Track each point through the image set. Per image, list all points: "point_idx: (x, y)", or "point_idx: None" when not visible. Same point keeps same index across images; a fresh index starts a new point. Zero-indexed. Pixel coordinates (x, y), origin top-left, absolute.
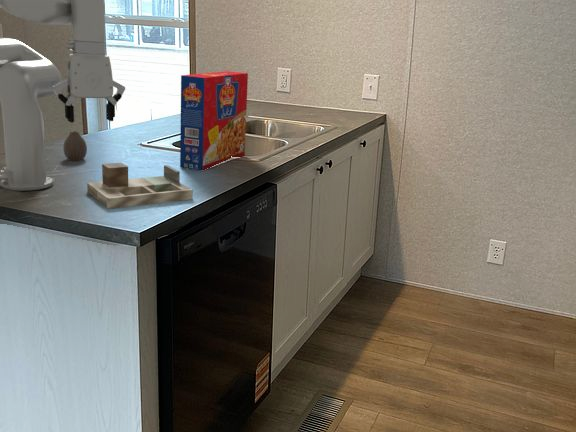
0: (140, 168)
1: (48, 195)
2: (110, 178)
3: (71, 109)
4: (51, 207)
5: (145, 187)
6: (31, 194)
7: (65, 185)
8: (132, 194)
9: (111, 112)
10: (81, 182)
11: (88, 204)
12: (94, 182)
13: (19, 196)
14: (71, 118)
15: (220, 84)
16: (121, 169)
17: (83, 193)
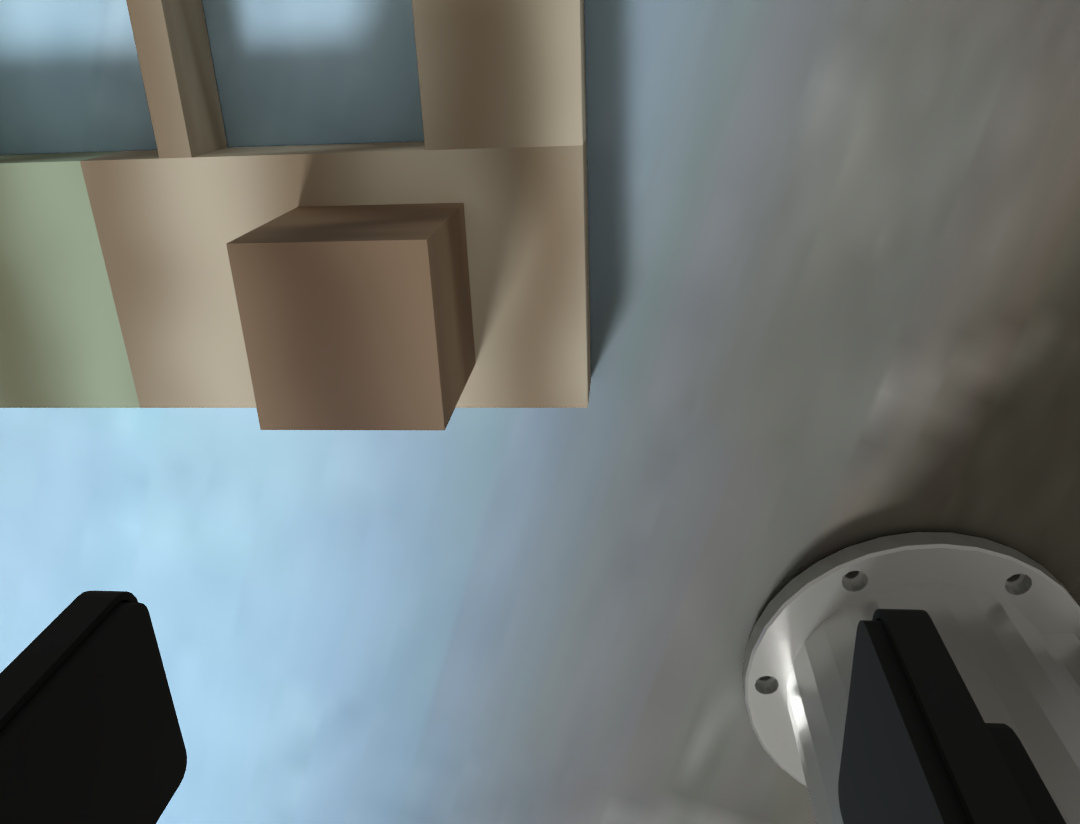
0: None
1: (877, 391)
2: (433, 219)
3: (1016, 817)
4: (991, 49)
5: (168, 100)
6: (975, 455)
7: (679, 588)
8: (297, 145)
9: (15, 697)
10: (557, 620)
11: (691, 33)
12: (533, 394)
13: (1072, 434)
14: (940, 652)
15: None
16: (303, 235)
17: (628, 357)
